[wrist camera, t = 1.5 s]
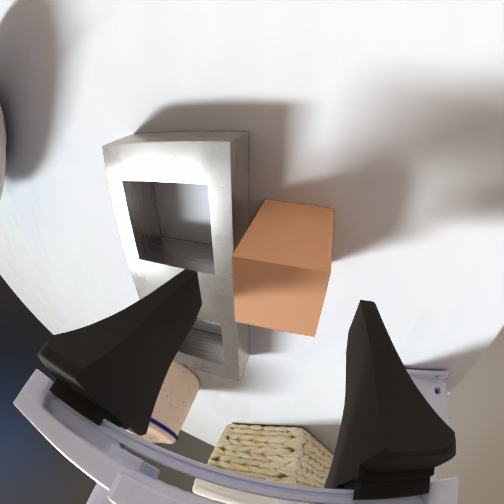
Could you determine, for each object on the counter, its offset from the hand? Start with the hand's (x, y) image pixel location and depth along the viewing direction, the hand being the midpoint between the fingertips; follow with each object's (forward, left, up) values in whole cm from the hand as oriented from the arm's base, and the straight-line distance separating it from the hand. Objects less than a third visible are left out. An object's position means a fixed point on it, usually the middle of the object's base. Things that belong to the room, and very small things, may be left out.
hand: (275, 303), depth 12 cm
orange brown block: (0, 0, -6) cm, 6 cm away
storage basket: (-4, +43, -7) cm, 44 cm away
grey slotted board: (+7, +4, -6) cm, 10 cm away
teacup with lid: (+15, +24, -6) cm, 29 cm away
